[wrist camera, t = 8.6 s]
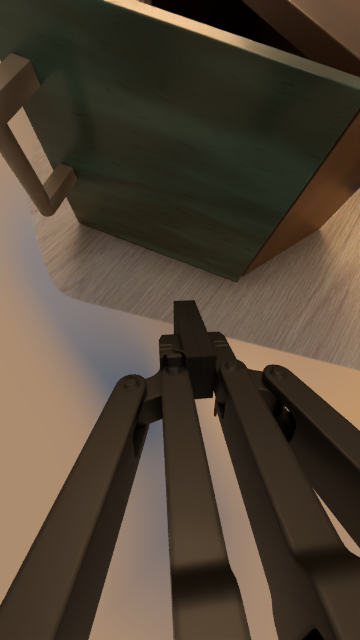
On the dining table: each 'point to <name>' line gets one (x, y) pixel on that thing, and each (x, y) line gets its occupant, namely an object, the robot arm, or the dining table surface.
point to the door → (165, 124)
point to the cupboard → (313, 44)
